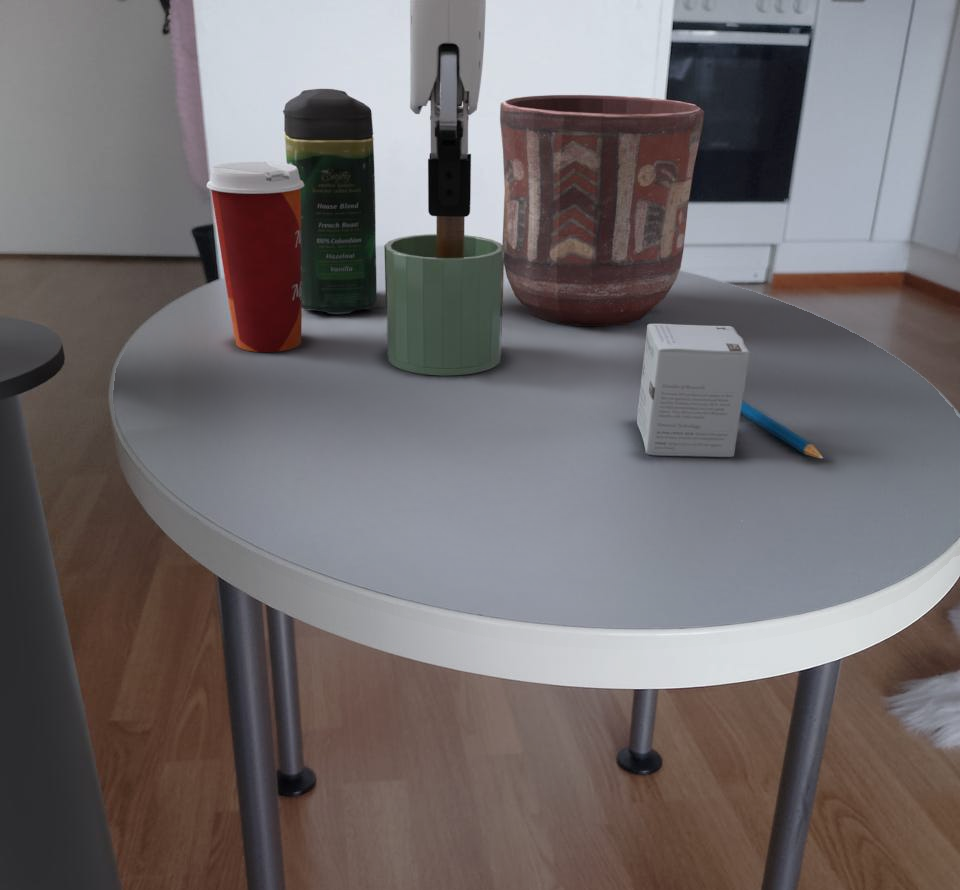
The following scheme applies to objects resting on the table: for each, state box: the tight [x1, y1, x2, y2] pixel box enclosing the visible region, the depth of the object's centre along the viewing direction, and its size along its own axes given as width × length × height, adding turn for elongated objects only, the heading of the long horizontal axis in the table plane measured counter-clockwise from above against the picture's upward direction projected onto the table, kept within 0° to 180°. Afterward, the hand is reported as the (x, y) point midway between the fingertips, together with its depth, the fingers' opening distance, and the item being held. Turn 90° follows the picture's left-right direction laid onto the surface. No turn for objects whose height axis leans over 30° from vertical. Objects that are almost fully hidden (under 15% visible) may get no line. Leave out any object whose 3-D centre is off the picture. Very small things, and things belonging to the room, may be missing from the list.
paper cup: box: [206, 161, 304, 353], centre depth 90 cm, size 8×8×14 cm
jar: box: [383, 233, 505, 377], centre depth 88 cm, size 9×9×9 cm
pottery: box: [499, 94, 705, 327], centre depth 100 cm, size 18×18×18 cm
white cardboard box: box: [636, 323, 751, 458], centre depth 73 cm, size 6×6×7 cm
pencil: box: [740, 400, 824, 459], centre depth 79 cm, size 1×17×1 cm, turn 19°
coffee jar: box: [282, 88, 378, 315], centre depth 100 cm, size 10×8×19 cm
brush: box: [435, 140, 466, 258], centre depth 86 cm, size 5×5×15 cm
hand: (449, 210), depth 85 cm, fingers closed on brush
